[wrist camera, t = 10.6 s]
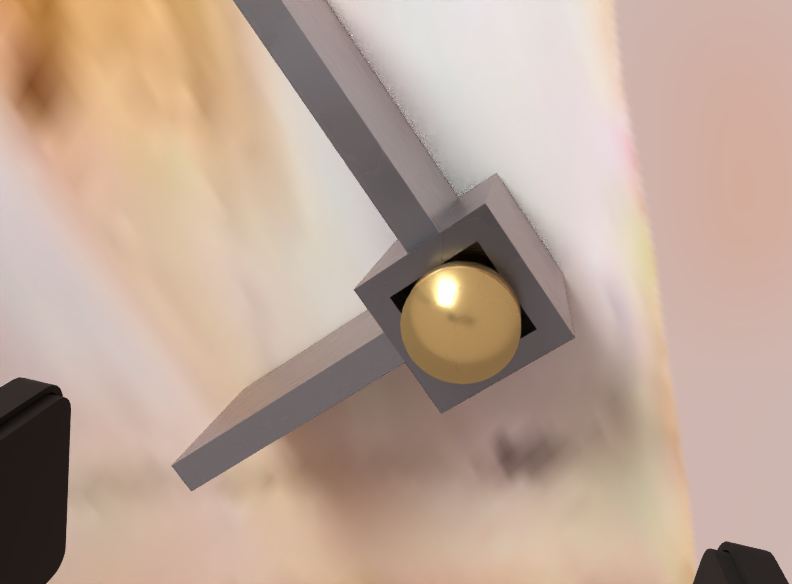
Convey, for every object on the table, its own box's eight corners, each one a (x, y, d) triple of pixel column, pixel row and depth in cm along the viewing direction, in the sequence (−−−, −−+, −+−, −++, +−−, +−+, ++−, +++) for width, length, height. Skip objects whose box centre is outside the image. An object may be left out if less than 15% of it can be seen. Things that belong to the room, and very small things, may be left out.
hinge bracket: (281, 441, 33) (209, 545, 26) (81, 173, 32) (-60, 199, 24) (562, 272, 29) (574, 337, 22) (349, -50, 27) (281, -103, 20)
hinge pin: (468, 310, 30) (443, 404, 21) (422, 243, 30) (377, 309, 21) (539, 267, 29) (544, 346, 20) (492, 197, 29) (476, 246, 20)
